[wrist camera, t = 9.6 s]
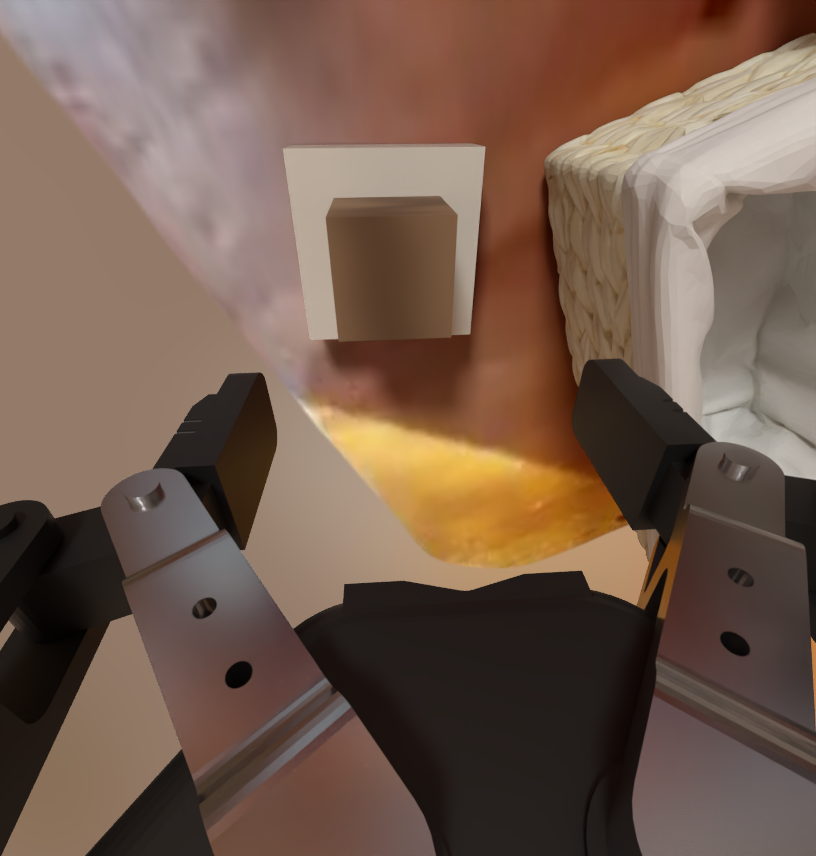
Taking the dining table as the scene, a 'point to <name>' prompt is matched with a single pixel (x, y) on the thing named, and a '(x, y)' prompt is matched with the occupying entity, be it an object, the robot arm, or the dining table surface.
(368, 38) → the dining table surface
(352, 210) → the walnut cube
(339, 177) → the white flat block
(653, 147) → the storage basket
